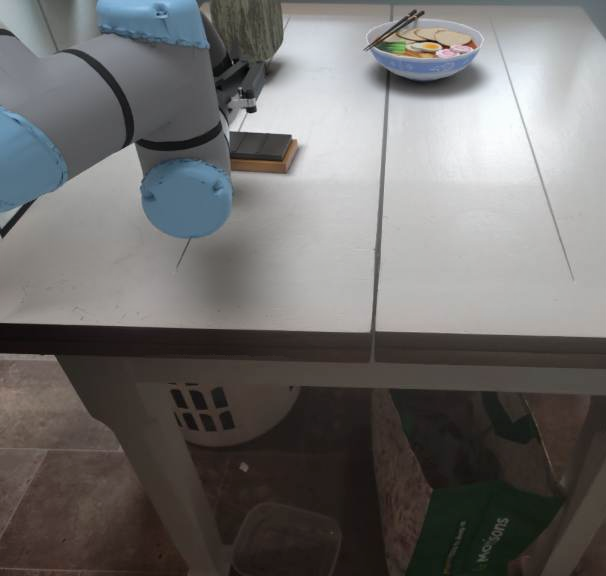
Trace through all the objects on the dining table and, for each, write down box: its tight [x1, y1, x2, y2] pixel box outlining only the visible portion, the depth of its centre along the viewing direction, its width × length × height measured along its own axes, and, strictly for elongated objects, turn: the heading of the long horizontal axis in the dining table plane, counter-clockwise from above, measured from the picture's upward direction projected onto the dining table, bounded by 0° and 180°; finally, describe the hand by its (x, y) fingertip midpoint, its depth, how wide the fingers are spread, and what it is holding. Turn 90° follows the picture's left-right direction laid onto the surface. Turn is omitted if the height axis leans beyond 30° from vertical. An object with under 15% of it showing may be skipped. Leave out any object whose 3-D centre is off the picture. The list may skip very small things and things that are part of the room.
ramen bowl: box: [362, 9, 485, 83], centre depth 119 cm, size 25×23×8 cm
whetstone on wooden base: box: [229, 130, 299, 174], centre depth 95 cm, size 16×8×3 cm, turn 84°
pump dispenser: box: [199, 9, 240, 126], centre depth 76 cm, size 10×10×15 cm
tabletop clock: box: [208, 0, 285, 75], centre depth 114 cm, size 14×9×25 cm, turn 171°
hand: (196, 54), depth 79 cm, fingers closed on pump dispenser, 9 cm apart
